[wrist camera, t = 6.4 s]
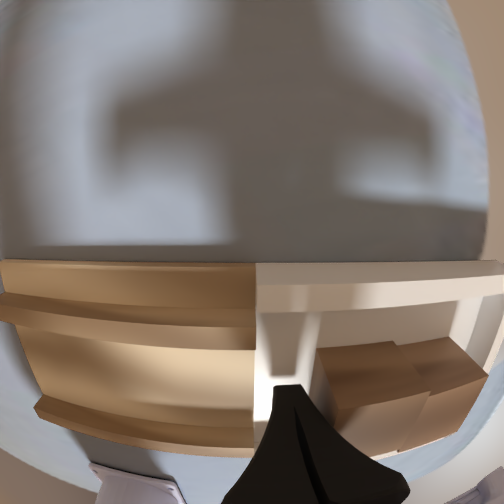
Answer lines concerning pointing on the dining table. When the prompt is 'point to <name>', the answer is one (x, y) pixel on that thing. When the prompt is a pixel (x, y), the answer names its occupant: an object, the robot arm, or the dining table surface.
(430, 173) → the dining table surface
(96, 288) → the slot board
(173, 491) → the robot arm
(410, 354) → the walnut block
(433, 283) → the cream tray
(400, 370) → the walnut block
